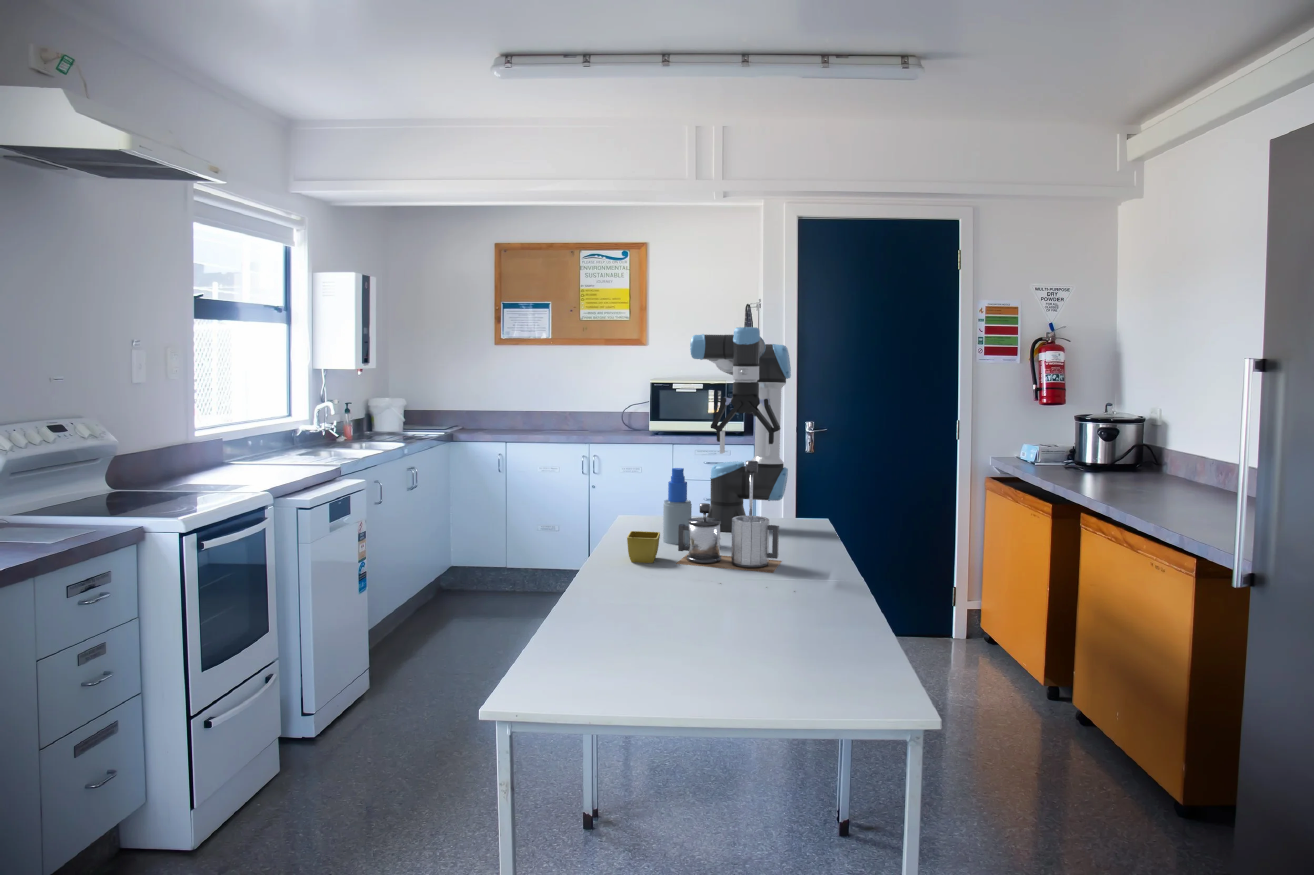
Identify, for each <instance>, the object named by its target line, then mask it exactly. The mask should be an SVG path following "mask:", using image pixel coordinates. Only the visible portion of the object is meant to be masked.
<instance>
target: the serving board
mask: <svg viewBox="0 0 1314 875" xmlns="http://www.w3.org/2000/svg"><path fill="white" fill-rule="evenodd" d="M687 555H689V552H688V553H687V554H686V555H684V556H683V557H682V558H680V560H678V561H677V562H675V564H676V565H683V566H694V567H705V568H716V569H717V568H718V569H727V570H737V571H749V572H759V573H770V574H774V572H775V571H776V570H777V568H778V567H779V566H780V564H781V563H782V562H783V560H777V559H769V561H768V566H767V567H764V568H759V569H746V568H739V567H735V566H733V565H732V560H731V555H723V554H722V555H721V554H720V556H721V562H719V563H715V564H695V563H691V562H689V561H687Z"/></svg>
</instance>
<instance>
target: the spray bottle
mask: <svg viewBox="0 0 1314 875" xmlns="http://www.w3.org/2000/svg"><path fill="white" fill-rule="evenodd" d="M685 480H686V478H685V473H684V467H673V468H671V476H670V481H668V484H667V485H668V487H667V491H668V492H667V499H665V500H663V507H662V508H663V516H662V517H663V519H662V520H663V523H662V524H663V525H662V527H663V528H662V529H663V530H662V532H663V533H662V534H663V535H662V536H663V537H662V538H663V539H662V541H663V543H664V544H668V545H677V546H678V529H679V525H680V524H685V525H686V526H689V523H688V520H689V519H691V518H692V501H691V500H689V499H688V481H685ZM685 545H689V531H687V530H685Z"/></svg>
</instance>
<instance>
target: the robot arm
mask: <svg viewBox="0 0 1314 875" xmlns="http://www.w3.org/2000/svg"><path fill="white" fill-rule="evenodd" d="M760 331H761V330H760V328H758V327H753V326H749V327H746V326H745V327H744V326H743V327H741V326H739V327H735V328H734V329H733V334H704V333H701V334H694V335H693V336H692V337H691V339H690V347H689V348H690V349H689V350H690V355H691V358H692V359H694V360H700V361H702V360H706V361H709V362H711V363H713V364H715V366H716V368H717V370H720V372H723V373H725V374H727V375H730V376H732V380H734V381H733V383H732V396H731V398H730V397H727V396H724V397H722V398H721V403H720V406H719V408H718V410H717V412H716V414H715V416H714V418H713V421H712V422H711V425H710V428H711V429H712V430H716V441H717V442H719V454H724V453H725V452H726V450H725V449H726V447H725V446H726V430H723V429H725V426H727V425H728V423H729V422H730V421H731V420H732V419H733V418H734V417H735V416H736V414H737V413H738V414H748V415H750V414H753V415H754V416H755V428H754V430H755V431H754V432H755V433H754V434H755V435H754V436H755V438H754V457H753V458H752V459H751V460H750V461H758V472H757V473H753V501H767V502H771V501H772V502H774V501H775V502H776V501H781V500H782V499H783V498H784V496H785V492H786V487H787V482H788V477H789V476H788V475H789V474H788V473H789V468H787V467H786V466H784V464H785V462H784V461H783V460H782V459H781V457H780V453H781V451H780V450H781V446H780V445H781V419H782V418H781V416H782V412H781V411H782V389H783V388H784V387H785V386H786V384H787V379H790V378H791V376H792V374H791V372H792V369H791V359H790V353H789V349H788V347H787V346H786V345H784V344H778V343H777V344H776V343H768V344H766V343H765V340H764V339H763V338H762V337H761V333H760ZM730 404H732V406H733V408H732V409H731V410H730V412H729V413H728V414H727V415H726V417H724V419H723V420H722V421H721V422H720V420H721V418H722V416H723V414H724V413H725V412H726V409H727V406H729V405H730ZM709 478H710V503H709V504H710V513H706V517H708V518H716V519H719V520H721V524H720V532H731V533H732V518H734V517H737V516H747V514H746V511H745V508H744V500H750V473H748V472H746V463H745V462H744V461H742V460H741V461H738V460H737V461H725V462H720V463H716V464H714V465H713V466H712V467H711V470H710V477H709Z"/></svg>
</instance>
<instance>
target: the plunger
mask: <svg viewBox="0 0 1314 875" xmlns="http://www.w3.org/2000/svg"><path fill="white" fill-rule="evenodd" d="M745 466H746V472H748V473H750V499H748V502H749V503H748V504H749V505H748V506H749V508H748V509H749V510H748V512H749V513H748V516H749V522H752V516H753V506H754V504H753V503H754V502H753V501H754V500H753V473H757V472H758V461H751V460H745Z"/></svg>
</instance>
